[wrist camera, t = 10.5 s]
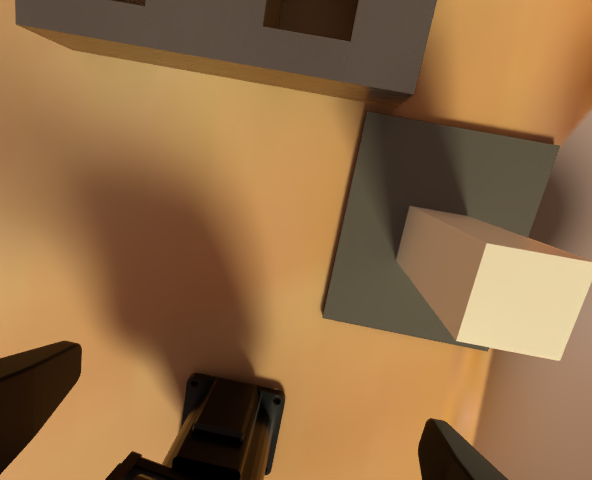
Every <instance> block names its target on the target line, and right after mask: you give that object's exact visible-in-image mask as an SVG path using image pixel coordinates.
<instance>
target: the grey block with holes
mask: <svg viewBox="0 0 592 480" xmlns="http://www.w3.org/2000/svg"><path fill="white" fill-rule="evenodd" d="M436 2H437V0H358V4H357V9H356V14H355V19H354V24H353V29H352V34H351V39H350V41H345V40H339V39H333V38H327V37H322V36H316V35H310V34H304V33H298V32H292V31H287V30H281V29H278V25H279V18H280V12H281V5H282V0H145V6H141V5H135V4H129V3H123V2H118V1H112V0H15V6H16V25H18V26H21V27H23V28H25V29H27V30H29V31H32V32H34V33H36V34H38V35H41V36H43V37H45V38H47V39H49V40H52V41H54V42H56V43H58V44H60V45H63V46H65V47H67V48H69V49H71V50H76V51H81V52H87V53H92V54H98V55H104V56H109V57H115V58H121V59H126V60H132V61H137V62H143V63H149V64H154V65H160V66H165V67H171V68H177V69H182V70H188V71H194V72H199V73H205V74H210V75H216V76H222V77H227V78H233V79H239V80H244V81H250V82H255V83H261V84H267V85H272V86H278V87H283V88H289V89H295V90H300V91H306V92H312V93H317V94H323V95H328V96H334V97H340V98H345V99H351V100H357V101H362V102H368V103H373V104H379V105H385V106H390V107H396V108H397V107H398V106H399V105H401V104H402V103H403V102H405V101H406V100H407V99H409V98H410V97H411V96H412V95H414V92H415V88H416V84H417V80H418V76H419V72H420V67H421V63H422V59H423V55H424V51H425V47H426V43H427V39H428V35H429V31H430V27H431V23H432V18H433V14H434V10H435V6H436Z"/></svg>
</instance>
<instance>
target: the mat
mask: <svg viewBox="0 0 592 480" xmlns="http://www.w3.org/2000/svg"><path fill="white" fill-rule="evenodd" d="M559 148H560V146H558V145H553V144H547V143H542V142H536V141H530V140H525V139H519V138H514V137H508V136H502V135H497V134H491V133H486V132H480V131H475V130H469V129H463V128H458V127H452V126H447V125H441V124H435V123H430V122H424V121H419V120H413V119H408V118H402V117H396V116H391V115H385V114H380V113H374V112H368V111H367V113H366V117H365V122H364V127H363V131H362V136H361V141H360V145H359V150H358V154H357V159H356V164H355V168H354V173H353V178H352V182H351V187H350V191H349V196H348V201H347V205H346V210H345V214H344V219H343V224H342V228H341V233H340V238H339V242H338V247H337V251H336V256H335V261H334V265H333V270H332V274H331V279H330V284H329V288H328V293H327V298H326V302H325V307H324V311H323V318H325V319H330V320H335V321H340V322H345V323H350V324H355V325H360V326H365V327H370V328H375V329H380V330H384V331H389V332H394V333H399V334H404V335H409V336H414V337H419V338H424V339H429V340H434V341H439V342H444V343H449V344H453V345H458V346H463V347H468V348H473V349H478V350H483V351H488V349H489V347H484V346H479V345H474V344H469V343H464V342H458V341H456V340H455V339H454V337H453V336H452V335H451V333H450V332H449V331H448V329H447V328H446V327H445V325H444V324H443V323H442V321H441V320H440V319H439V317H438V316H437V315H436V313H435V312H434V311H433V309H432V308H431V307H430V305H429V304H428V303H427V301H426V300H425V299H424V297H423V296H422V295H421V293H420V292H419V291H418V289H417V288H416V287H415V285H414V284H413V283H412V281H411V280H410V279H409V277H408V276H407V275H406V273H405V272H404V271H403V269H402V268H401V267H400V265H399V264H398V263H397V261H396V258H397V254H398V250H399V246H400V242H401V238H402V234H403V230H404V226H405V222H406V218H407V214H408V210H409V206H414V207H420V208H425V209H431V210H437V211H442V212H448V213H454V214H459V215H465V216H469V217H472V218H475V219H477V220H480V221H483V222H486V223H488V224H491V225H494V226H497V227H500V228H502V229H505V230H508V231H511V232H513V233H516V234H519V235H522V236H524V237H527V238H528V236H529V233H530V230H531V227H532V224H533V221H534V219H535V216H536V213H537V210H538V207H539V204H540V202H541V198H542V196H543V193H544V190H545V187H546V184H547V181H548V179H549V176H550V173H551V170H552V167H553V165H554V162H555V159H556V156H557V153H558V150H559Z"/></svg>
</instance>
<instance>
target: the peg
mask: <svg viewBox="0 0 592 480" xmlns="http://www.w3.org/2000/svg"><path fill="white" fill-rule="evenodd" d="M396 261H397V263H398V264H399V265H400V267H401V268H402V269H403V271H404V272H405V273H406V275H407V276H408V277H409V279H410V280H411V281H412V283H413V284H414V285H415V287H416V288H417V289H418V291H419V292H420V293H421V295H422V296H423V297H424V299H425V300H426V301H427V303H428V304H429V305H430V307H431V308H432V309H433V311H434V312H435V313H436V315H437V316H438V317H439V319H440V320H441V321H442V323H443V324H444V325H445V327H446V328H447V329H448V331H449V332H450V333H451V335H452V336H453V337H454V339H455V340H456V341H458V342H464V343H469V344H474V345H479V346H484V347H490V348H495V349H501V350H505V351H510V352H516V353H521V354H526V355H531V356H537V357H542V358H547V359H552V360H557V361H560V359H561V357H562V354H563V352H564V349H565V347H566V344H567V342H568V339H569V337H570V334H571V332H572V329H573V327H574V323H575V322H576V319H577V317H578V314H579V312H580V309H581V307H582V304H583V302H584V299H585V297H586V294H587V292H588V289H589V287H590V284H591V281H592V261H591V260H588V259H585V258H582V257H579V256H577V255H574V254H571V253H568V252H566V251H563V250H560V249H557V248H555V247H552V246H549V245H546V244H544V243H541V242H538V241H535V240H533V239H530V238H527V237H524V236H522V235H519V234H516V233H513V232H511V231H508V230H505V229H502V228H500V227H497V226H494V225H491V224H488V223H486V222H483V221H480V220H477V219H475V218H472V217H469V216H465V215H459V214H454V213H448V212H442V211H437V210H431V209H425V208H420V207H414V206H409V210H408V214H407V218H406V222H405V226H404V230H403V234H402V238H401V242H400V246H399V250H398V254H397V258H396Z"/></svg>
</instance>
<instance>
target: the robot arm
mask: <svg viewBox="0 0 592 480" xmlns="http://www.w3.org/2000/svg"><path fill="white" fill-rule="evenodd" d="M81 357H82V348H81V345H80V344H78V343H74V342H69V341H61V342H57V343H54V344H50V345H47V346H43V347H39V348H36V349H32V350H29V351H25V352H21V353H18V354H14V355H11V356H7V357H4V358H0V474H1V473H2V472H3V471H4V470H5V469H6V468H7V466H8V465H9V464H10V463H11V462H12V461H13V460H14V459H15V458H16V457H17V455H18V454H19V453H20V452H21V451H22V450H23V449H24V448H25V447H26V446H27V444H28V443H29V442H30V441H31V440H32V439H33V438H34V436H35V435H36V434H37V433H38V431H39V430H40V429H41V428H42V426H43V425H44V424H45V423H46V421H47V420H48V419H49V417H50V416H51V415H52V413H53V412H54V411H55V410H56V408H57V407H58V406H59V404H60V403H61V402H62V400H63V399H64V398H65V397H66V395H67V394H68V393H69V391H70V390H71V389H72V387H73V386H74V385H75V383H76V382H77V381H78V379H79V377H80V373H81ZM193 380H195V381H197V382H198V383H195V382H194V381H193ZM275 398H279V399H280V400H275ZM284 404H285V395H284V393H283V392H281V391H279V390H274V389H269V388H264V387H260V386H255V385H251V384H246V383H241V382H237V381H232V380H227V379H223V378H217V377H212V376H208V375H203V374H198V373H194V374H192V375H191V376H190V377H189V379H188V381H187V387H186V395H185V404H184V412H183V420H182V428H181V430H180V431H179V433H178V435H177V437H176V439H175V441H174V443H173V444H172V446H171V448H170V450H169V452H168V454H167V456H166V457H165V459H164V461H163V463H162V464H159V463H157V462H154V461H151V460H148V459H146V458H143V457H142V455H141V454H139V453H136V452H133V451H132V452H131V453H130V454H129V455H128V456H127V458H126V459H125V460H124V461H123V462H122V463H119V464H118V465H117V466H116V468H115V469H114V470H113V471H112V472H111V473H110V475H109V476H108V477H107V478H106V479H105V480H264V475H268V474H269V473H270V472H271V468H272V463H273V458H274V453H275V448H276V443H277V438H278V434H279V429H280V424H281V419H282V414H283V409H284ZM418 457H419V463H420V469H421V476H422V480H508V479H507V478H506V477H505V476H504V475H503V474H502V473H501V472H499V471H498V470H497V469H496V468H495V467H494V466H493V465H492V464H491V463H490V462H489V461H488V460H487V459H485V458H484V457H483V456H482V455H481V454H480V453H479V452H478V451H477V450H476V449H475V448H474V447H473V446H472V445H470V444H469V443H468V442H467V441H466V440H465V439H464V438H463V437H462V436H461V435H460V434H459V433H458V432H457V431H455V430H454V429H453V428H452V427H451V426H450V425H449V424H448V423H447V422H445V421H442V420H437V419H432V418H430V419H428V420H427V421H426V424H425V427H424V430H423V433H422V436H421V439H420V442H419V446H418Z"/></svg>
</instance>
